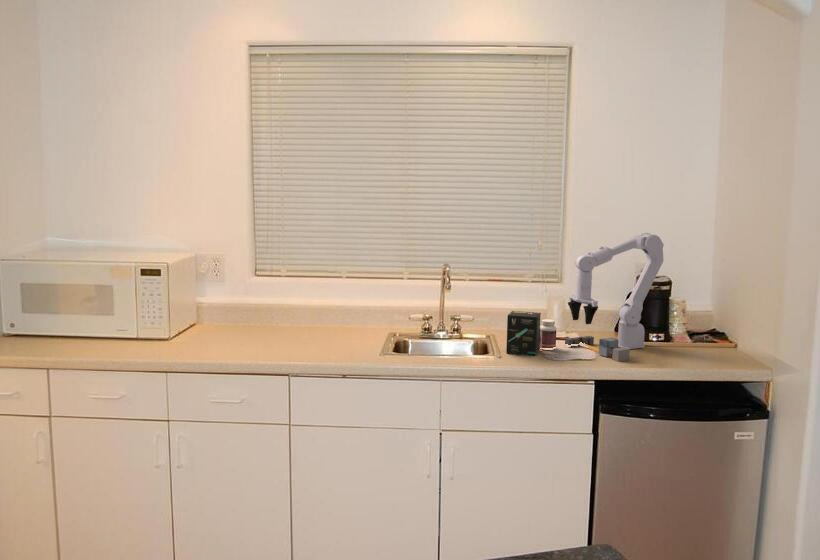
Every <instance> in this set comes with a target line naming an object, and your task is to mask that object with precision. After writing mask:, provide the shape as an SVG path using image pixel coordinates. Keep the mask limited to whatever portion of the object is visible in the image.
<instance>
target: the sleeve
mask: <svg viewBox="0 0 820 560" xmlns="http://www.w3.org/2000/svg"><path fill="white" fill-rule="evenodd" d="M618 342H619V340H618V338H617V339H616V338H615V337H614V338H613V337H605V338H599V342H598V344H599V345H598V349H599V353H598V355H600V356H603V357H605V358H606V357H608V358H609V354H610V353H613V349H614V348H619V347H618Z"/></svg>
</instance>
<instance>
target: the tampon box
mask: <svg viewBox="0 0 820 560" xmlns="http://www.w3.org/2000/svg"><path fill="white" fill-rule="evenodd" d="M506 325H507V326H506V330H507V331H506V348H505V349H506V351H505V352H506V354H507V355H520V356H521V355H522V356H531V357H532V356H533V357H536V355H538V352H539V351H540V350H541V349H540V327H541V312H535V311H522V310H521V311H519V310H512V311H511V312H510V313H508V314H507V322H506Z"/></svg>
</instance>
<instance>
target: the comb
mask: <svg viewBox="0 0 820 560" xmlns="http://www.w3.org/2000/svg"><path fill="white" fill-rule="evenodd" d="M594 340H595V337H594V336H592V335H587V336H586V335H584V336H576V337H567V338H564V345H565V344H568V345H571V344H579V342H582V343H585V344H587V345H589V346H594V342H595V341H594Z"/></svg>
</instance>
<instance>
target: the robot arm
mask: <svg viewBox="0 0 820 560" xmlns="http://www.w3.org/2000/svg"><path fill="white" fill-rule="evenodd" d="M632 249H636V250H642V251H643V252H644V254H645V257H646V259H647V261H646V263H645V265H644V268H643V270H642V272H641V273H640V276H639V278H638V280H637V281H636V284H635V286H634V287H633V289H632V292H631V294H630V296H629V298H627V299H625V302H624V303H623V305H621V306H620V307H619V308H618V310H617V315H618V317H619V321H618V333H617V340H619V342H618V348H622V347H624V348H627V349H630V350H633V349H640V348H642V349H643V348H646V345H645V332H646V331H645V327H644V325H643V324H642V323H640V321H641V319H642V315H641V314H642V312H643V310H644V309H643V304H644V301H645V299H646V297H647V296H648V293H649V291H650V289H651V287H652V285H653V284H654V281H655V279H656V277H657V275H658V273H659V271H660V268H661V267H662V265H663V263H664V242H663V241H662V239H661V237H660V236H658V235H656V234H651V233H649V232H644V233H641V234H638V235H635V236H633V237H630V238H628V239H627V240H624V241H622V242H619V243H618V244H615V245H613V246H612V247H608V246H599V247H598V249H596V250H594V251H588V252H586V254H582V255H579V256H578V257H577V259H576V260H575V261H574V263H575V266H576V280H575V294H572V295H571V294H570V295H568V301H567V305H568V306H569V309H570V311H571V312H570V313H571V318H572V321H579V317H580V311H581V308H582V305H583V308H582V309H583V311H584V314H585V315H584V316H585V317H584V318H585V319H584V322H585V325H592V322H593V319H594V316H595V314H596V312H597V310H598V309H599V304H598V302H599V301H598V300H595V299H593V298H592V283H593V281H592V280H593V271H594V269H595V268H596V267H599V266H601V265H604V264H606V263H608V262H611V261H612V260H613V258H614V256H617V255H619V254H623V253H624V252H627V251H628V252H629V251H630V250H632Z"/></svg>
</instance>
